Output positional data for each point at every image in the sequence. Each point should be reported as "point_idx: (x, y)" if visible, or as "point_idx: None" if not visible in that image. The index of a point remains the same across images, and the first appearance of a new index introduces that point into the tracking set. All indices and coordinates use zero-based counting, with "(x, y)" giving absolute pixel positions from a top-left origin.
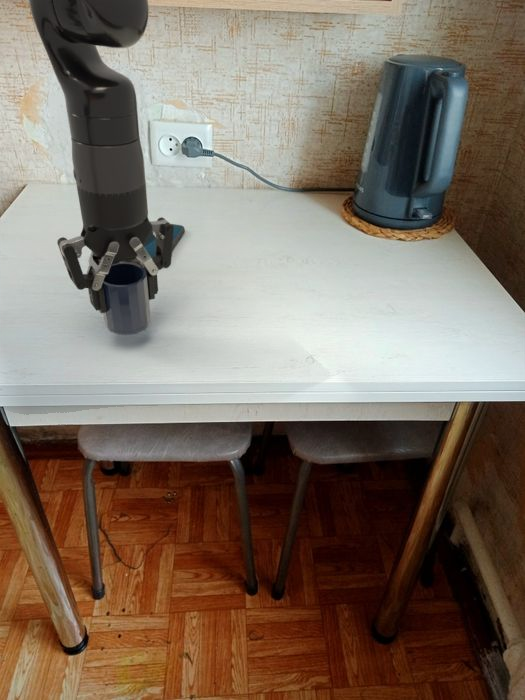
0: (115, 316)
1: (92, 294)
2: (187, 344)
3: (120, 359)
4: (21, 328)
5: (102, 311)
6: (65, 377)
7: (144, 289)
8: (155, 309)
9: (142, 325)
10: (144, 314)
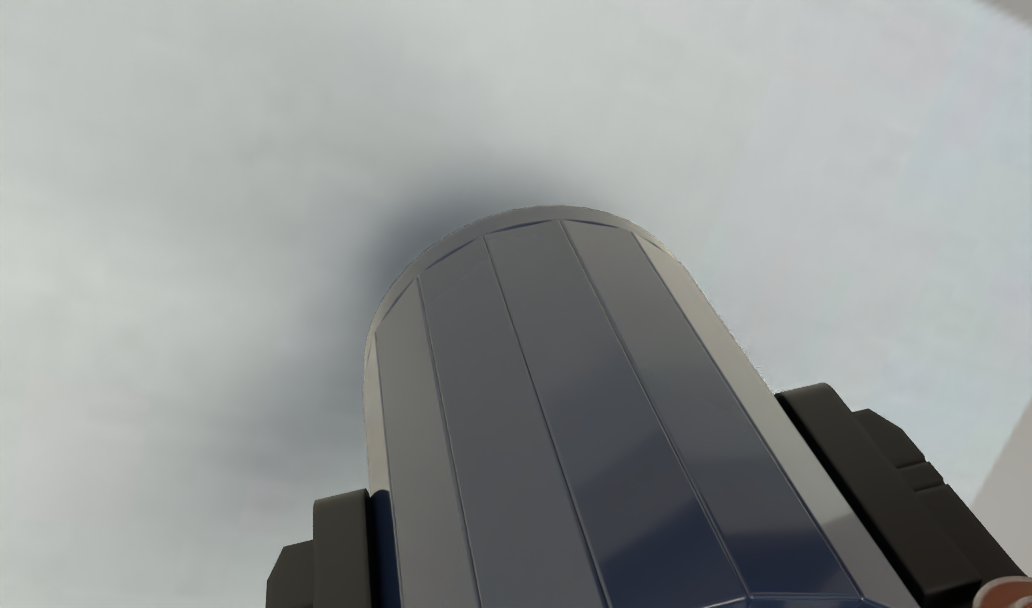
0: (720, 335)
1: (990, 543)
2: (95, 116)
3: (613, 102)
4: (938, 464)
5: (826, 393)
6: (956, 41)
7: (464, 565)
8: (275, 501)
9: (470, 254)
10: (451, 332)
